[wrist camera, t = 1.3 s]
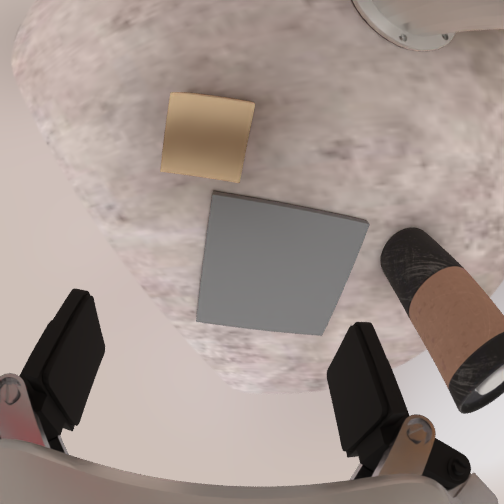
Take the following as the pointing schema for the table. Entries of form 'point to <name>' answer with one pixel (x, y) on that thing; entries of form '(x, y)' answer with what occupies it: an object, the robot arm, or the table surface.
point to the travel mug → (449, 317)
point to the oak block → (206, 136)
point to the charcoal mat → (275, 264)
